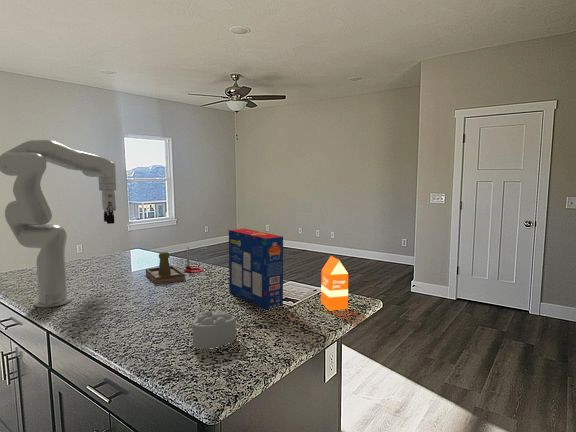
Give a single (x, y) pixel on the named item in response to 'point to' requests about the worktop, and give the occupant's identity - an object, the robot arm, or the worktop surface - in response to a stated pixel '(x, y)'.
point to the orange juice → (334, 285)
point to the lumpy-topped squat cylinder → (213, 329)
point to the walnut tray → (159, 279)
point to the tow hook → (191, 267)
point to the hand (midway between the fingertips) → (109, 222)
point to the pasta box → (256, 267)
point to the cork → (164, 264)
